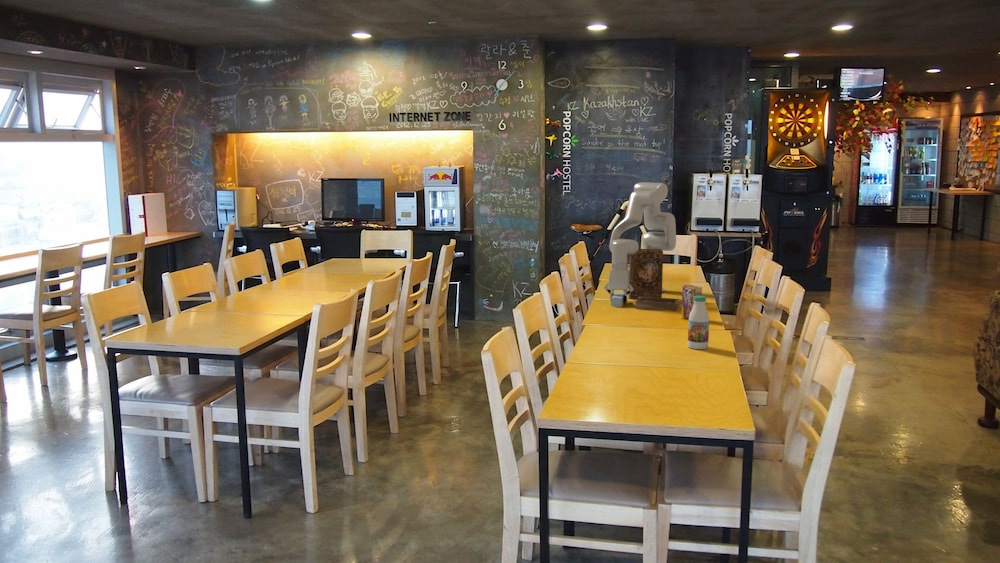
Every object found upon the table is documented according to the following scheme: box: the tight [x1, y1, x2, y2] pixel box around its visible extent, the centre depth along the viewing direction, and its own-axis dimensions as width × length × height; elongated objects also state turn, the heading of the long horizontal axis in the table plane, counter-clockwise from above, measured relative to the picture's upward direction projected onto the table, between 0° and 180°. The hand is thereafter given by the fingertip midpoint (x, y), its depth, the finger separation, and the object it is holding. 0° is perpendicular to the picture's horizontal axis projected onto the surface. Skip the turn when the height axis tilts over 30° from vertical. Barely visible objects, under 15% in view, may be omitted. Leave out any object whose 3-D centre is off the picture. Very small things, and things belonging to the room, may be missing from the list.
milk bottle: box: [687, 295, 710, 350], centre depth 303 cm, size 8×8×20 cm
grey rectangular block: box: [610, 291, 624, 308], centre depth 389 cm, size 15×5×4 cm, turn 163°
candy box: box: [681, 283, 703, 321], centre depth 353 cm, size 9×4×15 cm, turn 26°
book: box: [628, 248, 664, 300], centre depth 401 cm, size 16×6×25 cm, turn 84°
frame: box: [634, 297, 680, 312], centre depth 380 cm, size 12×19×4 cm, turn 73°
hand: (618, 302), depth 389 cm, fingers closed on grey rectangular block, 5 cm apart
